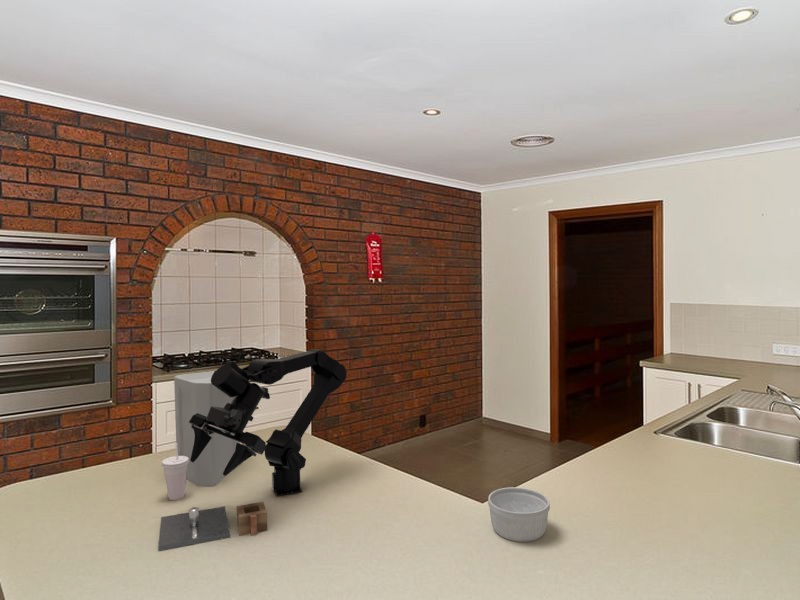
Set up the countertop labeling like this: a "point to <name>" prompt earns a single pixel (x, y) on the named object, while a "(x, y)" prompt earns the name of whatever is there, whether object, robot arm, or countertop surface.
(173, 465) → the smoothie
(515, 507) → the ramekin
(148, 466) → the countertop surface
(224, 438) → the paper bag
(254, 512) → the wooden cubby with handle
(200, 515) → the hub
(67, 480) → the countertop surface
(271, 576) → the countertop surface
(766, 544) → the countertop surface
